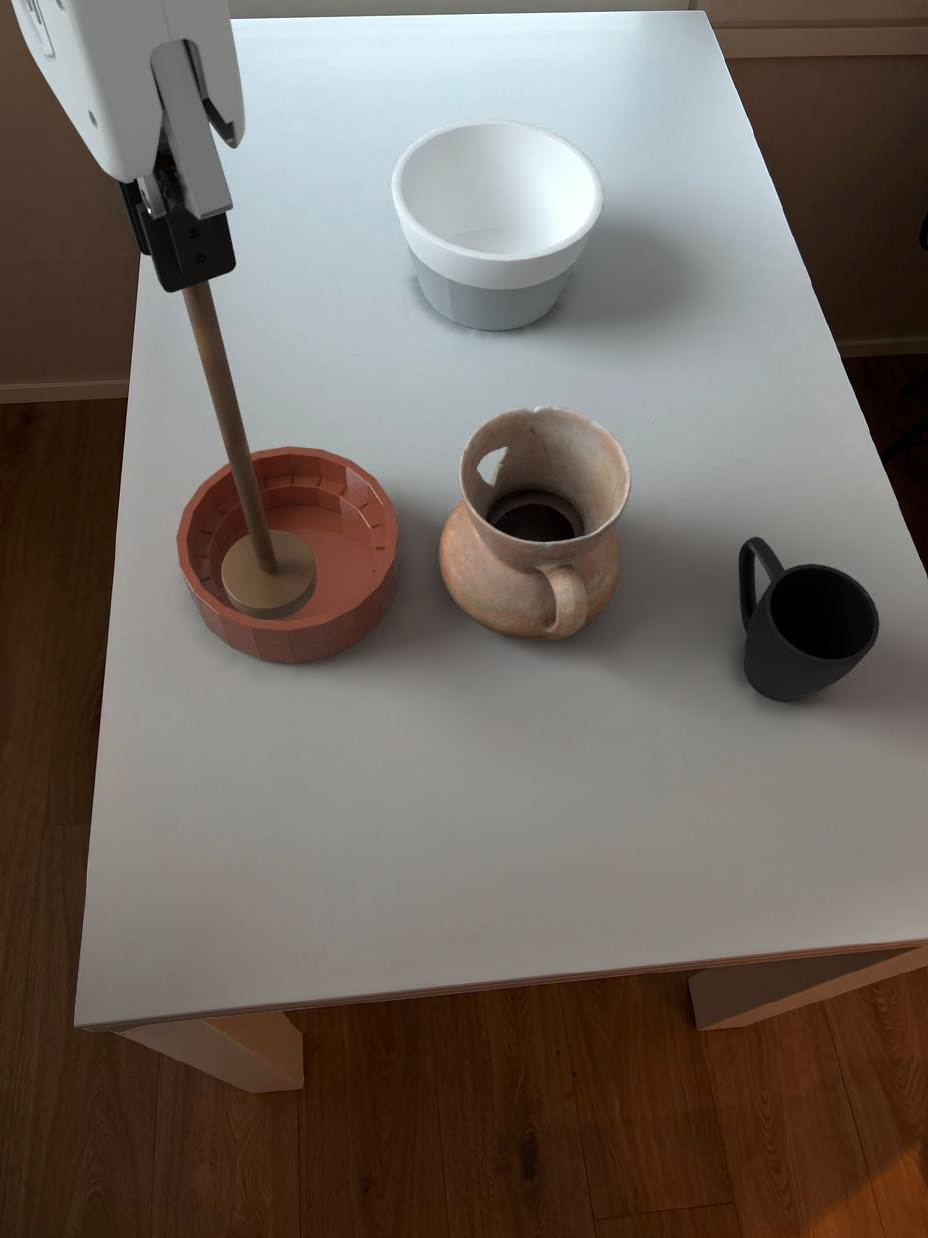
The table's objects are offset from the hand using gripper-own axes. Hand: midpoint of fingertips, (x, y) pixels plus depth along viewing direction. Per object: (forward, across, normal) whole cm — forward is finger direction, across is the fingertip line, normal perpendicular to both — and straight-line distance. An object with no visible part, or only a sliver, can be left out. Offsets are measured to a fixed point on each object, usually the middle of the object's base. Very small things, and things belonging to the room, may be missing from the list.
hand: (187, 257), depth 40 cm
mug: (+40, +17, +33) cm, 55 cm away
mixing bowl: (+39, -7, +4) cm, 40 cm away
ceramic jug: (+40, +2, +20) cm, 44 cm away
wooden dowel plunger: (+27, 0, 0) cm, 27 cm away
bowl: (+40, -29, +36) cm, 60 cm away
